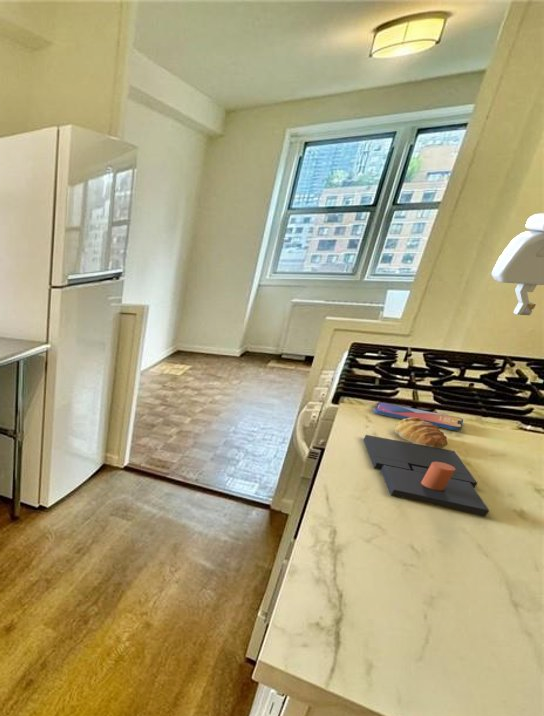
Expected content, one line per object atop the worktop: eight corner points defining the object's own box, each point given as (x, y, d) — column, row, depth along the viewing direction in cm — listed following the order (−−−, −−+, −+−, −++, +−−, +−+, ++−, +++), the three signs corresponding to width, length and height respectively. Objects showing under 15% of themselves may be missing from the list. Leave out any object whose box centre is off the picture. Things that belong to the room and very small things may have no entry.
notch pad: (451, 456, 96) (454, 450, 95) (474, 488, 85) (477, 483, 84) (363, 439, 102) (365, 434, 101) (374, 468, 91) (376, 462, 91)
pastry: (455, 452, 97) (465, 435, 95) (419, 451, 98) (428, 434, 96) (419, 432, 105) (427, 416, 103) (386, 431, 106) (394, 415, 104)
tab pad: (462, 481, 87) (477, 456, 85) (485, 516, 78) (503, 489, 75) (378, 464, 93) (390, 440, 90) (390, 495, 83) (404, 469, 81)
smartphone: (377, 405, 119) (378, 401, 118) (461, 422, 109) (463, 418, 109) (372, 413, 114) (374, 409, 114) (459, 432, 105) (462, 428, 104)
